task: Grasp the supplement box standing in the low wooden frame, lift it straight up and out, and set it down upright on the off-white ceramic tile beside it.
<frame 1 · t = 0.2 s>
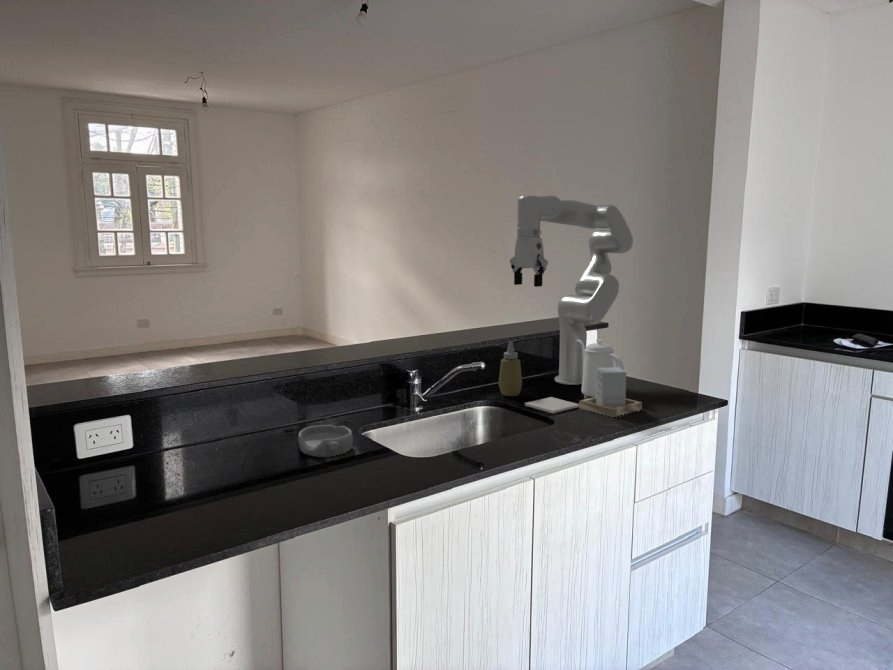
hand: (527, 285, 223), 37 cm above the worktop, tool pointing down, fingers open, 9 cm apart
coffeepot: (596, 394, 225), on the worktop
supplement box: (610, 410, 206), resting in wooden frame
dish: (326, 450, 170), on the worktop
wooden frame: (610, 409, 206), on the worktop
squeeze bottle: (510, 395, 225), on the worktop
tile: (552, 406, 210), on the worktop
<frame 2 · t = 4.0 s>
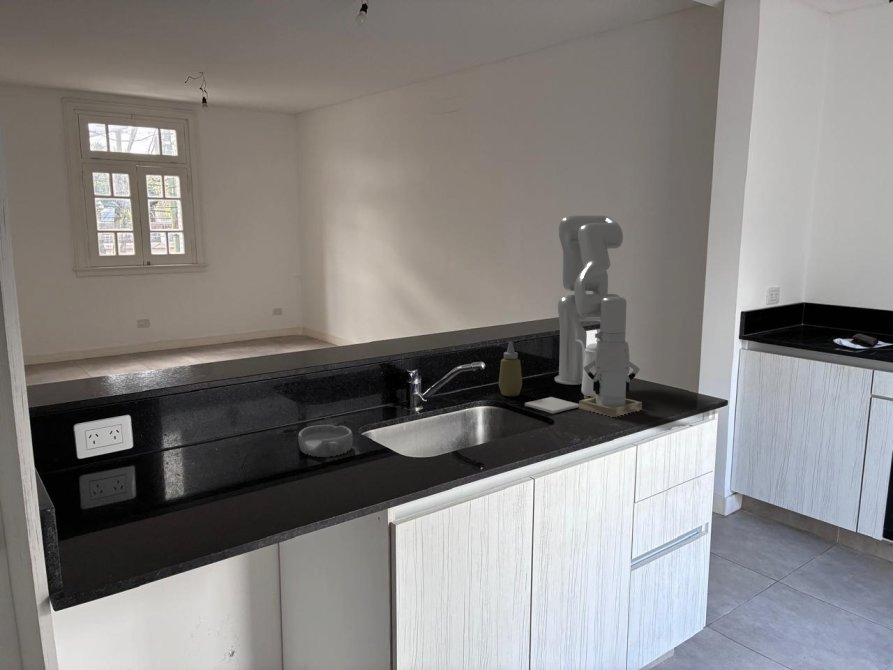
hand: (610, 393, 205), 5 cm above the worktop, tool pointing down, fingers closed on supplement box, 8 cm apart
supplement box: (610, 410, 206), resting in wooden frame, touching gripper
everything else where it was.
when the fingers open (7 cm above the worktop, at t = 11.9 s): supplement box drops 1 cm, resting on tile.
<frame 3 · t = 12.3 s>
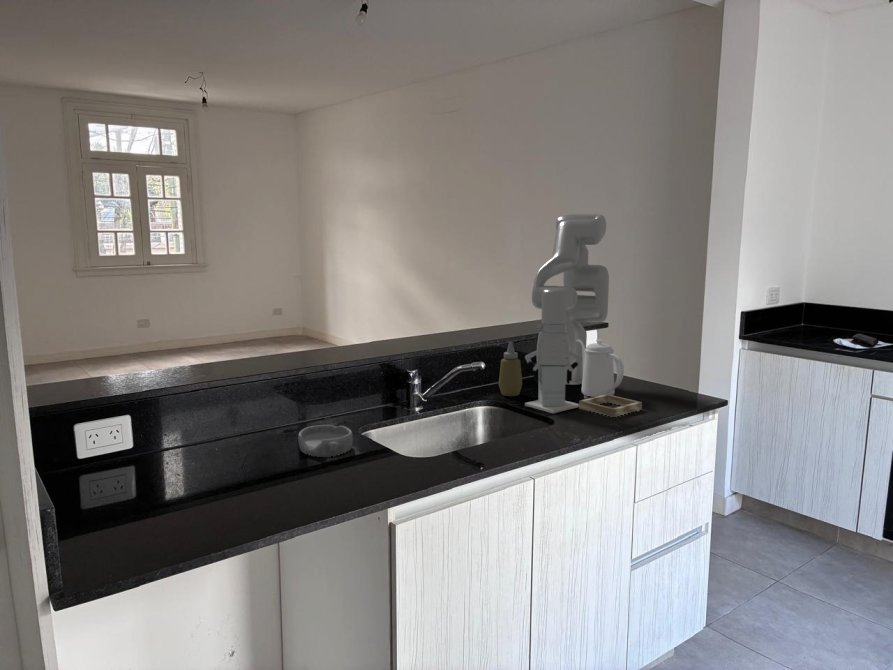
hand: (552, 382, 209), 8 cm above the worktop, tool pointing down, fingers open, 9 cm apart
supplement box: (551, 404, 210), point 1 cm above the worktop, touching tile
everything else where it was.
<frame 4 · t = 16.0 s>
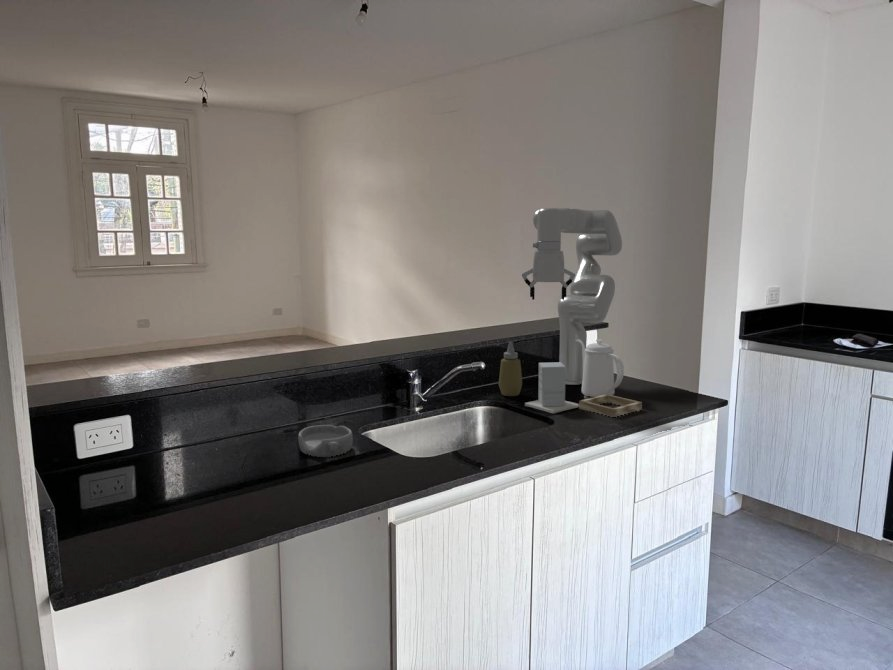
hand: (547, 299, 219), 32 cm above the worktop, tool pointing down, fingers open, 9 cm apart
nothing on the worktop moved.
at the end: supplement box inside the target area on the tile (0.3 cm from its centre), point 0.6 cm above the tile's base; supplement box tilted 0°; the gripper is holding nothing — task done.
